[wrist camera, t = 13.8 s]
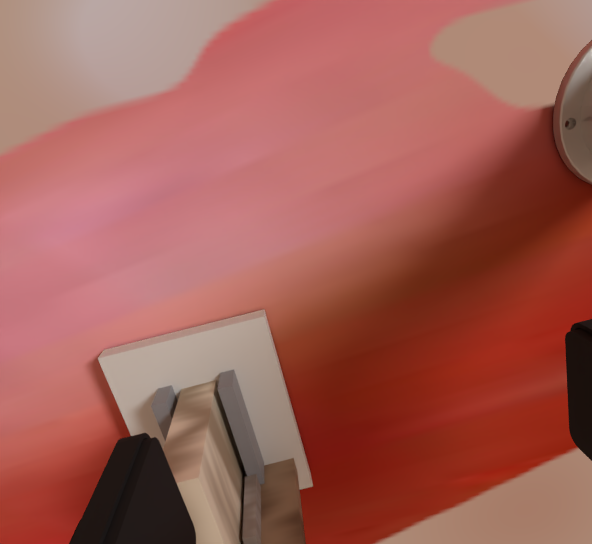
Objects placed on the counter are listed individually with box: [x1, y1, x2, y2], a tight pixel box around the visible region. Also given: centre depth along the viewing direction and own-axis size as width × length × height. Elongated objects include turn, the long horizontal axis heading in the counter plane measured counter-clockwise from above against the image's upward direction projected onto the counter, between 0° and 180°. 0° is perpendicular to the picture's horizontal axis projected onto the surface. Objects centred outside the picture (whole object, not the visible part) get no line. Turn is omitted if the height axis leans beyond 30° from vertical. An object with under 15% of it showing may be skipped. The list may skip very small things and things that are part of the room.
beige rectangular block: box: [163, 380, 244, 544], centre depth 33 cm, size 3×9×11 cm, turn 14°
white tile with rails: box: [98, 309, 313, 490], centre depth 38 cm, size 14×18×4 cm
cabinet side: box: [241, 458, 306, 544], centre depth 34 cm, size 12×3×12 cm, turn 104°
